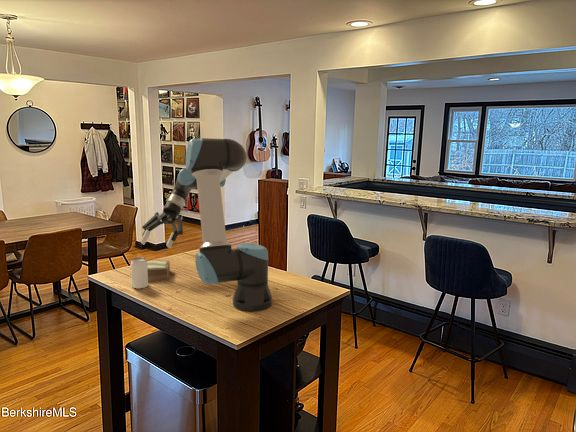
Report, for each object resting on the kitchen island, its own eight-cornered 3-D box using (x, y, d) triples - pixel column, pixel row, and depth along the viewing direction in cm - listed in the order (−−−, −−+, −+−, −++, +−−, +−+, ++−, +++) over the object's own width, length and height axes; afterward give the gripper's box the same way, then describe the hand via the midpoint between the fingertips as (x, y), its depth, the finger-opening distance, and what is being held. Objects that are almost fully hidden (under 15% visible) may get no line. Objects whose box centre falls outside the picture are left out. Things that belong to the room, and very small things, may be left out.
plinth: (167, 279, 185) (166, 268, 184) (141, 280, 182) (140, 269, 182) (169, 270, 197) (169, 259, 196) (145, 271, 195) (145, 260, 194)
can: (141, 290, 172) (140, 262, 170) (128, 287, 174) (127, 260, 172) (151, 285, 178) (150, 258, 176) (138, 283, 180) (137, 256, 178)
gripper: (200, 213, 193) (182, 252, 182) (155, 209, 201) (135, 246, 190) (193, 203, 188) (175, 243, 176) (147, 199, 195) (127, 237, 184)
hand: (154, 245), depth 183 cm, fingers open, 13 cm apart
